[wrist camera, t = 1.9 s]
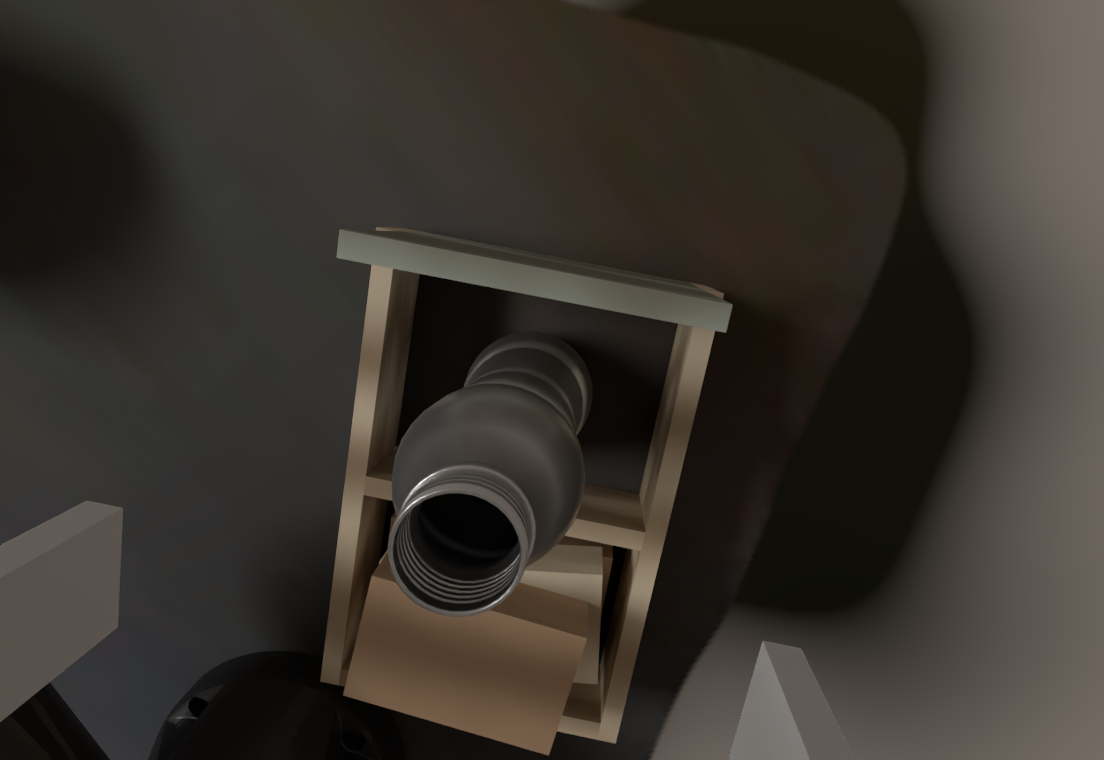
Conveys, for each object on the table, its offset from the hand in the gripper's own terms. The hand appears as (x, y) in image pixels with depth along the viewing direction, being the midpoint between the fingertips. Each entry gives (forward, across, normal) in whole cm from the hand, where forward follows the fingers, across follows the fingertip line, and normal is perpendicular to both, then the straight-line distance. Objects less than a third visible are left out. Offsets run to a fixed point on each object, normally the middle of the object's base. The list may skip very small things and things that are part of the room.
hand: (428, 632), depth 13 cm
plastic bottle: (+24, 0, 0) cm, 24 cm away
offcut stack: (+24, 0, +12) cm, 26 cm away
